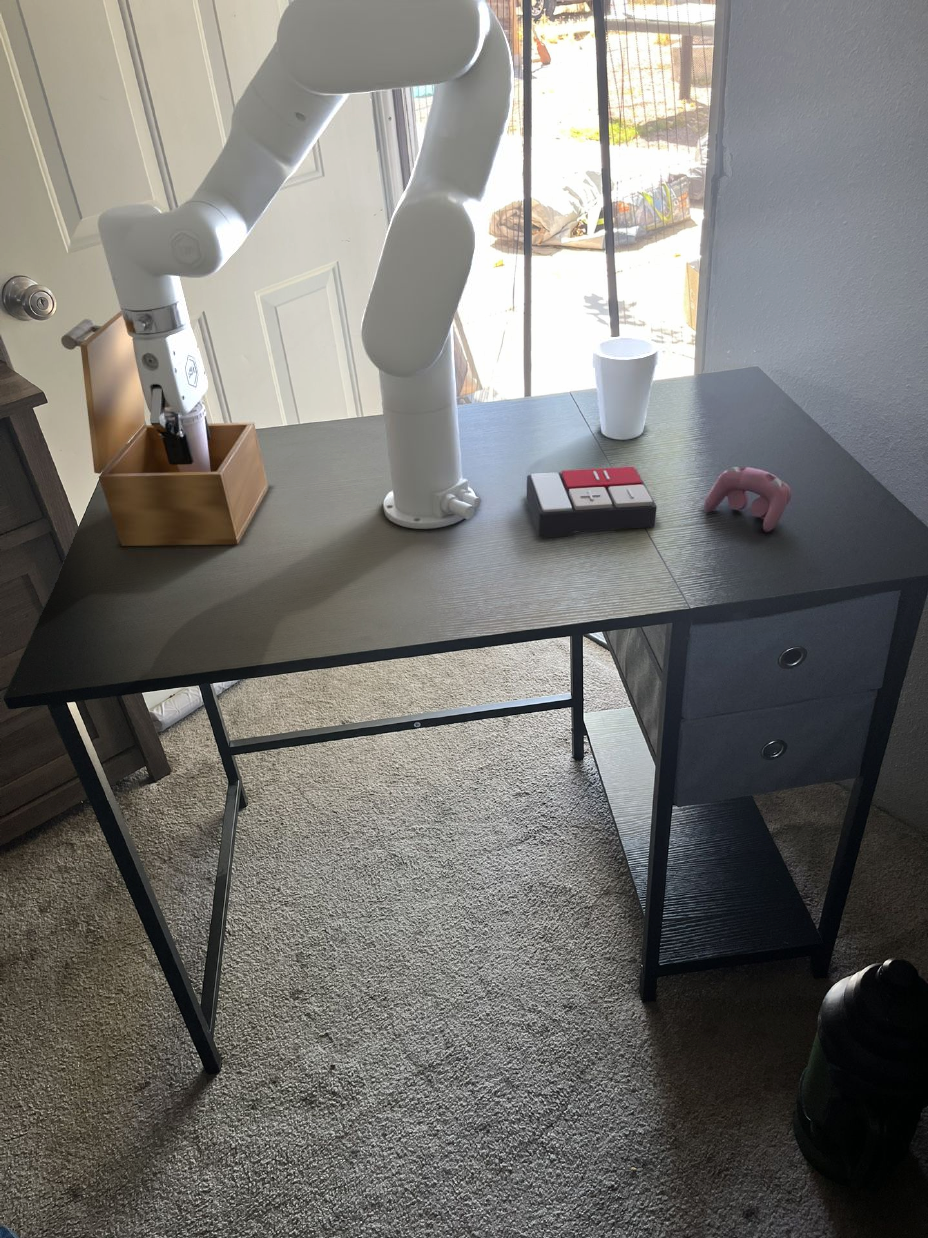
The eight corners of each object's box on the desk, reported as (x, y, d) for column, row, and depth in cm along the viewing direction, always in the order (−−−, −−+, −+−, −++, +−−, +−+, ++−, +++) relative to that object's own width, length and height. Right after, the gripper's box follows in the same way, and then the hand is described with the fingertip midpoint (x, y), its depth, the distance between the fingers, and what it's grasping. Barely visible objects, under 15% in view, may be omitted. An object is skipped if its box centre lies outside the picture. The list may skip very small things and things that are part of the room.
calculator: (658, 501, 115) (540, 508, 114) (654, 531, 118) (539, 538, 117) (636, 462, 124) (526, 469, 123) (633, 491, 127) (525, 497, 125)
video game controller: (782, 534, 117) (801, 480, 115) (768, 533, 113) (787, 478, 111) (713, 511, 122) (730, 460, 121) (698, 510, 119) (715, 457, 117)
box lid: (137, 302, 119) (95, 295, 119) (86, 345, 106) (40, 337, 106) (145, 422, 129) (107, 416, 129) (100, 474, 116) (58, 466, 116)
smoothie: (209, 489, 121) (183, 388, 113) (164, 487, 123) (136, 387, 114) (228, 466, 126) (205, 368, 118) (185, 465, 128) (159, 367, 119)
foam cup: (664, 426, 141) (670, 343, 133) (631, 449, 136) (635, 363, 128) (613, 413, 146) (615, 332, 139) (579, 434, 141) (579, 351, 133)
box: (268, 488, 133) (254, 422, 127) (237, 544, 121) (220, 474, 115) (162, 490, 135) (143, 425, 129) (121, 545, 123) (98, 476, 117)
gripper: (160, 340, 104) (197, 481, 115) (207, 293, 118) (236, 423, 129) (97, 342, 105) (139, 482, 116) (152, 295, 119) (185, 424, 130)
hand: (190, 450), depth 122 cm, fingers closed on smoothie, 6 cm apart
